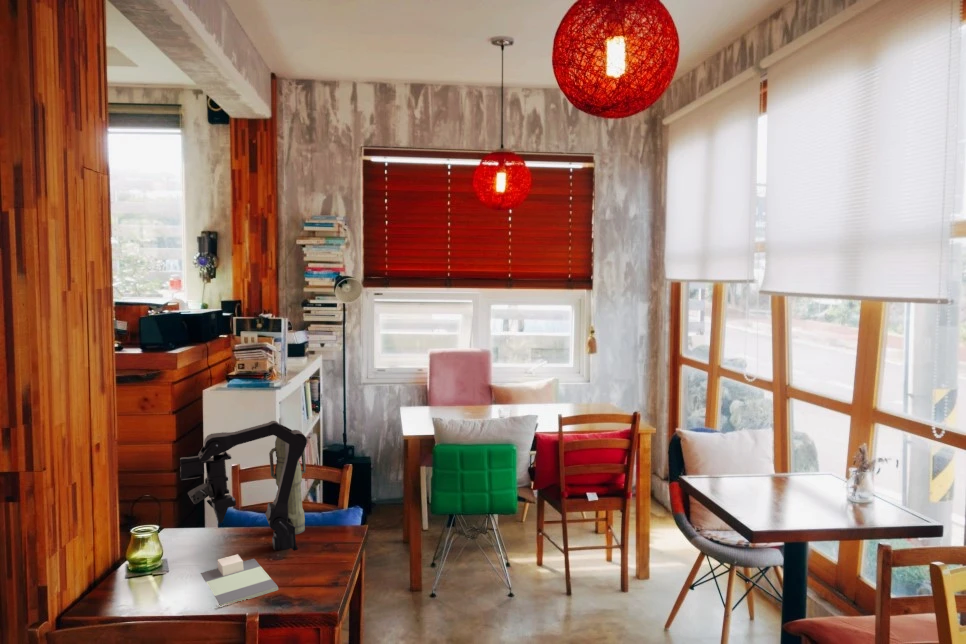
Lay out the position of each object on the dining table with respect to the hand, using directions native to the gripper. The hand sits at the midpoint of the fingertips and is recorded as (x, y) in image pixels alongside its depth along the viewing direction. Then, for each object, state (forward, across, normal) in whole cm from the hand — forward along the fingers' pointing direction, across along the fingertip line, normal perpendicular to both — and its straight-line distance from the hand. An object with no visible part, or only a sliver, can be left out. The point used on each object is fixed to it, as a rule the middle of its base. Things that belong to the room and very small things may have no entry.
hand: (220, 522), depth 214 cm
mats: (+13, +18, 0) cm, 22 cm away
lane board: (+13, +18, 0) cm, 22 cm away
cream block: (+12, +10, 0) cm, 15 cm away
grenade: (+13, -11, +26) cm, 31 cm away
